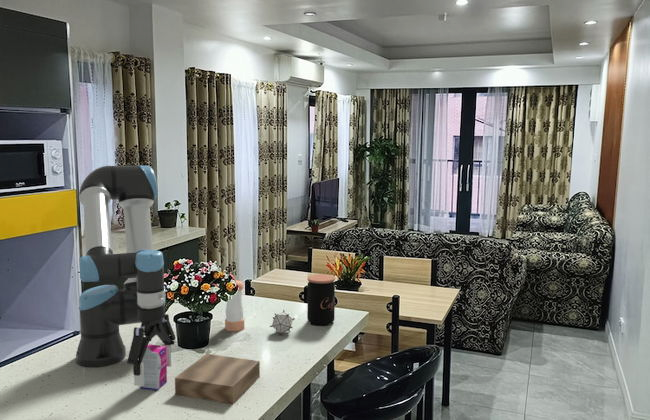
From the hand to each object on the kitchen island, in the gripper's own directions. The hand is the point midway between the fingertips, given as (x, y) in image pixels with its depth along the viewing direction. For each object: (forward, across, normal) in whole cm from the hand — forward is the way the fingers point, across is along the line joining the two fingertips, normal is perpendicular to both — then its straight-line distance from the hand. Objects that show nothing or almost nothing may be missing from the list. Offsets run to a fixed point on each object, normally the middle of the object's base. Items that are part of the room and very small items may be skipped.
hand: (153, 375), depth 161 cm
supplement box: (+4, 0, 0) cm, 4 cm away
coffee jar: (+3, +68, -30) cm, 74 cm away
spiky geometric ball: (+4, +52, -20) cm, 56 cm away
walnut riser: (+3, +6, -18) cm, 19 cm away
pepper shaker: (+3, +51, -1) cm, 51 cm away
